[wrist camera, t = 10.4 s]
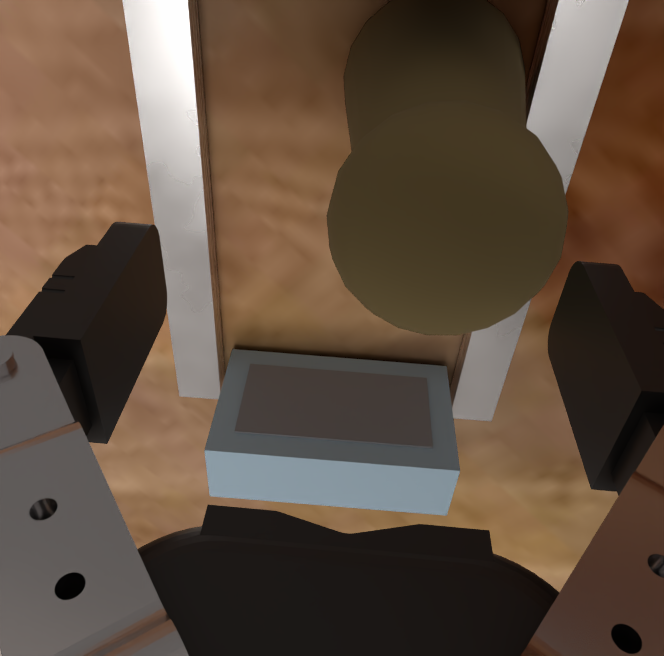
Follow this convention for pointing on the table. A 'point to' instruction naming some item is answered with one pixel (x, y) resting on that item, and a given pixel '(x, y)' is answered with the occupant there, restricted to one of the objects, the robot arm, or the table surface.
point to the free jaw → (334, 433)
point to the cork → (443, 172)
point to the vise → (195, 183)
